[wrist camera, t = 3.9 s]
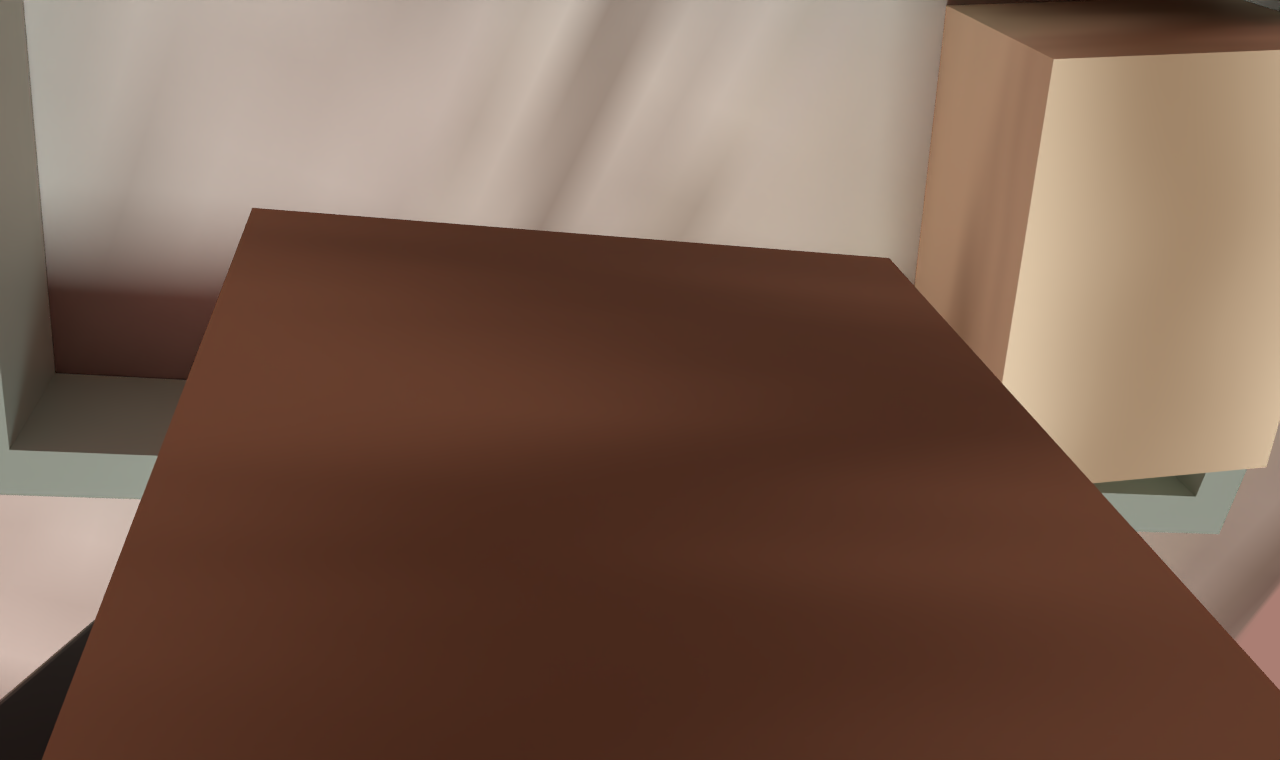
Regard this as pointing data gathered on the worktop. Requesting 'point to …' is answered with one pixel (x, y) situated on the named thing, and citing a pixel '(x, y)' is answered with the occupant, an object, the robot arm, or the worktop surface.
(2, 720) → the robot arm
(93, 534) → the worktop surface
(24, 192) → the parts bin
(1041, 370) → the maple box
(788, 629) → the walnut block
